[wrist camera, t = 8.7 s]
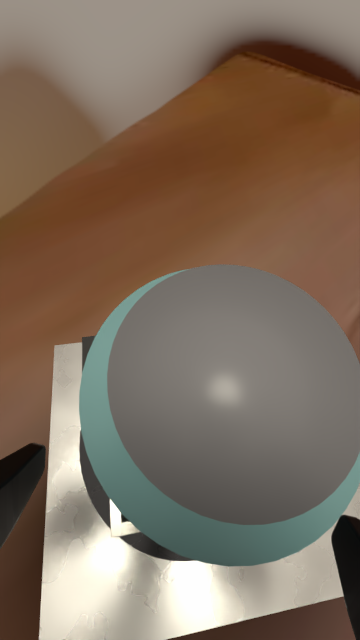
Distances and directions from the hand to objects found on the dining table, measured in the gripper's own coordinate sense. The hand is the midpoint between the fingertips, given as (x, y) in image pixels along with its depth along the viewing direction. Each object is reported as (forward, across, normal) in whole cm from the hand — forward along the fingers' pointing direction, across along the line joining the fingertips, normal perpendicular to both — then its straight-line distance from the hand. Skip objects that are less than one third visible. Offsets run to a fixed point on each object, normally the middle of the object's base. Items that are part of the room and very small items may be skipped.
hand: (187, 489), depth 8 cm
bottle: (+7, 0, +4) cm, 8 cm away
